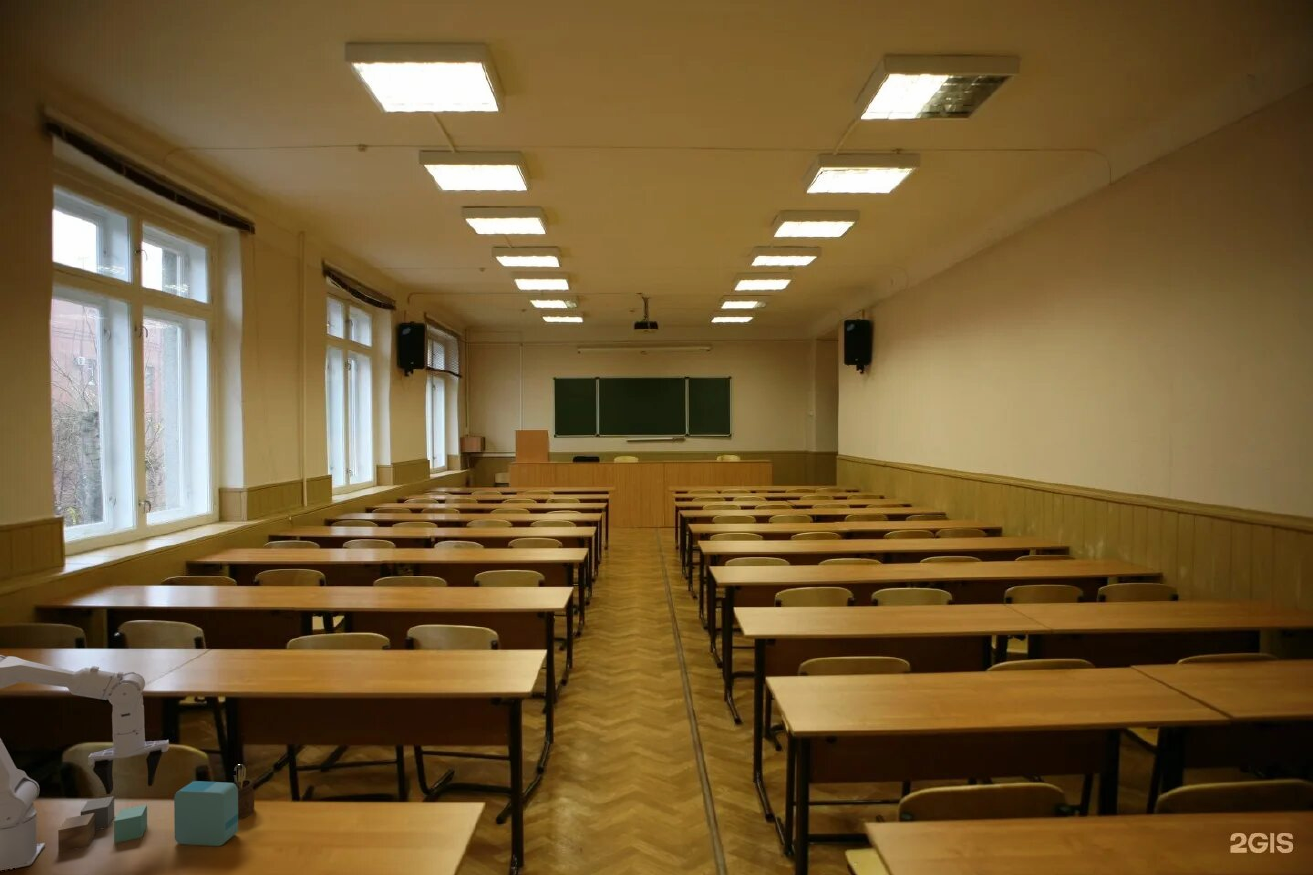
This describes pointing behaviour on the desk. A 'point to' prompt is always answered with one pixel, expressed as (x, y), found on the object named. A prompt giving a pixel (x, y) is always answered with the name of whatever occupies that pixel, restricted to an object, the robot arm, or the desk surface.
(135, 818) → the teal block
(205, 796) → the data package
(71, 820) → the walnut block
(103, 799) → the charcoal block
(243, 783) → the utensil holder
